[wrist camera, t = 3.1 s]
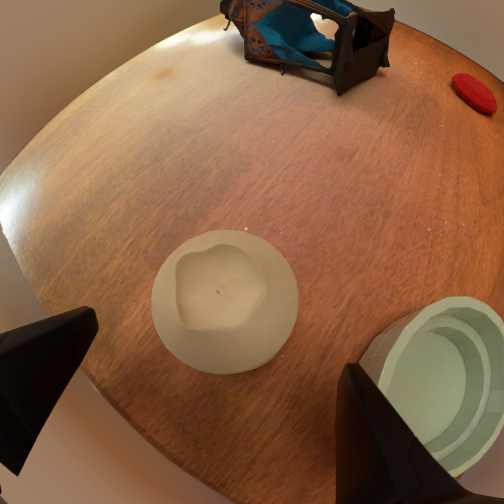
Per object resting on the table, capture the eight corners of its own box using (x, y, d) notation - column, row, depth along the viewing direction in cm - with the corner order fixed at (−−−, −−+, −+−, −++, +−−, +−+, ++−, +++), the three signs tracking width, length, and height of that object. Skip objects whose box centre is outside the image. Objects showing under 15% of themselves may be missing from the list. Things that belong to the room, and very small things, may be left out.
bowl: (419, 483, 12) (453, 502, 7) (311, 417, 15) (327, 434, 11) (491, 361, 15) (532, 352, 10) (404, 284, 18) (438, 259, 14)
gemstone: (465, 109, 27) (472, 95, 24) (441, 76, 31) (446, 63, 28) (500, 123, 27) (508, 111, 24) (477, 90, 30) (482, 79, 27)
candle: (247, 387, 16) (224, 412, 7) (184, 333, 18) (106, 294, 9) (301, 322, 18) (338, 272, 9) (237, 273, 19) (211, 184, 10)
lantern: (360, 120, 34) (231, 58, 40) (408, 37, 25) (271, -11, 31) (332, 94, 21) (162, 33, 27) (401, -24, 12) (214, -54, 18)
